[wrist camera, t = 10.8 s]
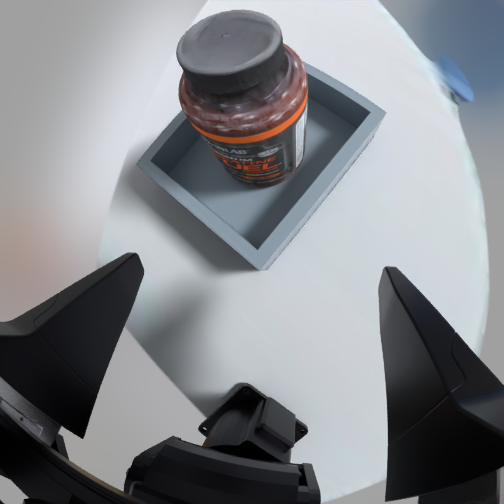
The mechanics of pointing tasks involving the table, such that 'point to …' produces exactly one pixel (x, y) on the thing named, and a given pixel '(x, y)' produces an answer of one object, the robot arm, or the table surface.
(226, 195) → the tote
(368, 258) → the table surface
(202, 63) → the supplement bottle
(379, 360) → the table surface
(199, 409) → the table surface
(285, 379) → the table surface
